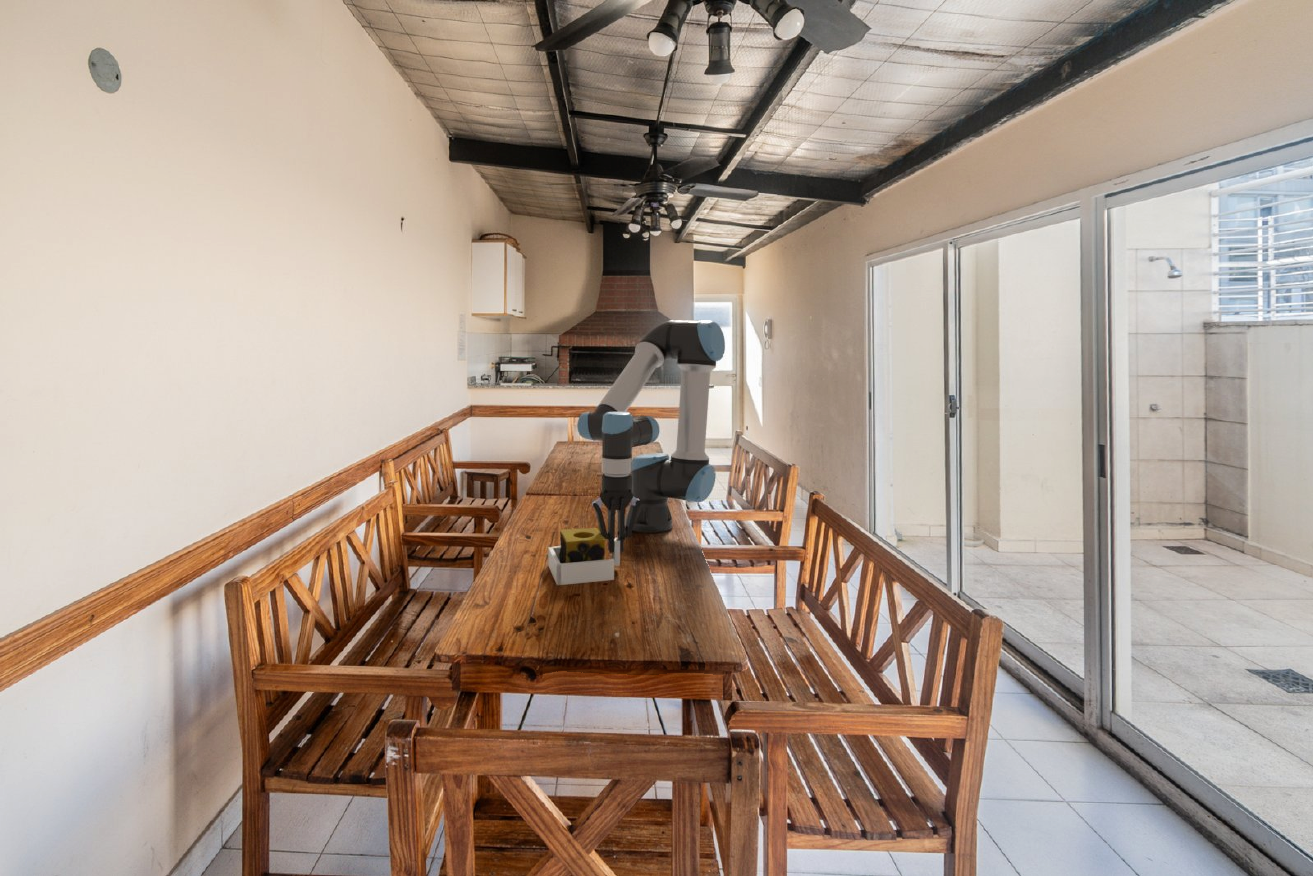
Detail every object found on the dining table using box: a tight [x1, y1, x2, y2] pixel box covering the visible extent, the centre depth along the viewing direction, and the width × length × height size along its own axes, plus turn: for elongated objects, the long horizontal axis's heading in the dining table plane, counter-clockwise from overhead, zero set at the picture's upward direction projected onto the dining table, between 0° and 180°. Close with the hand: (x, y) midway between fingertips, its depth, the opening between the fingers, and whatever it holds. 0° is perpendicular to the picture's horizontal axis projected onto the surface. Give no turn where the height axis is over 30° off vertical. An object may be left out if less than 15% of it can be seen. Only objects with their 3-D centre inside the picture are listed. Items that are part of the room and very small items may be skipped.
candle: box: [559, 527, 606, 563], centre depth 160 cm, size 10×10×10 cm
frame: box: [547, 545, 615, 586], centre depth 160 cm, size 14×14×5 cm
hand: (615, 563), depth 163 cm, fingers closed
